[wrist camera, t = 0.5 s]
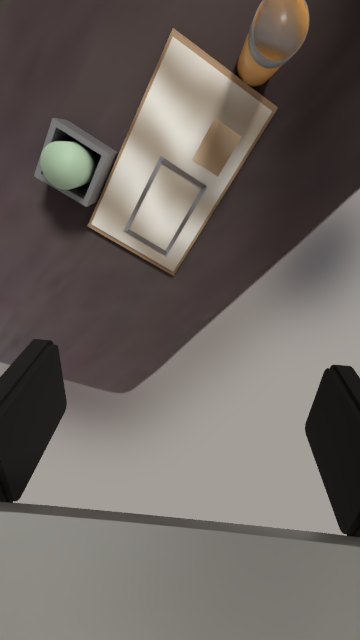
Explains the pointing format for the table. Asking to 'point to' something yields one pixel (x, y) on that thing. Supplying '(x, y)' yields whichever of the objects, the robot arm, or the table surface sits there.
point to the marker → (272, 39)
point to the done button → (68, 164)
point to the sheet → (179, 154)
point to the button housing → (64, 128)
